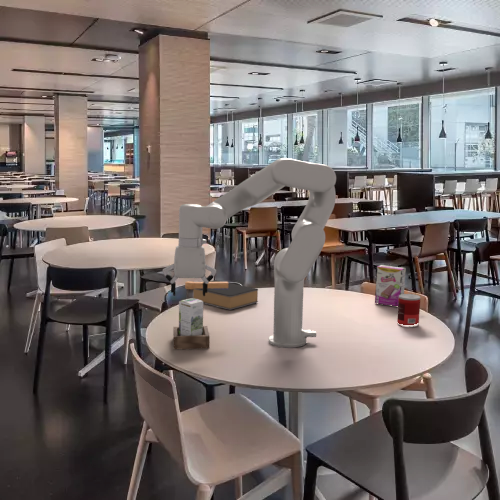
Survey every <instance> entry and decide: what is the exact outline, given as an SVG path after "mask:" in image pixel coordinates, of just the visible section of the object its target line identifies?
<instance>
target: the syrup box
mask: <svg viewBox="0 0 500 500" xmlns="http://www.w3.org/2000/svg"><path fill="white" fill-rule="evenodd" d="M203 326H204V303H203V301H201V300H198V299H194V298H190V299H182V300H179V301H178V327H179V336H196V335H203Z"/></svg>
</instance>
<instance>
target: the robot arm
mask: <svg viewBox="0 0 500 500" xmlns="http://www.w3.org/2000/svg"><path fill="white" fill-rule="evenodd" d="M336 182H337V175H336V172H335V170H334V169H333V168H332V167H331V166H329V165H327V164H321V163H315V162H310V161H302V160H298V159H293V158H289V157H288V158H287V157H280V158H278V159H276V160H274V161H272V162H270V163H269V164H268V165H267V166H265V167H263V168H262V169H260V170H259V171H257V172H256V173H254V174H252V175H251V176H250V177H248V178H245V180H243V181H242V182H240V183H239V184H238V185H237V186H235V187H234V188H232V189H231V190H229V191H228V192H226V193H224V194H222V195H221V196H219V197H218V198H216V199H214V201H212V202H210V203H209V204H208V205H205V206H204V205H203V206H202V205H201V204H196V203H185V204H181V205H180V206H179V210H178V211H179V212H178V245H176V246H175V250H174V260H173V263H172V264H171V265H168V266H166V267H165V268H163V269H162V273H163V275H164V277H165V279H166V280H167V281H168V282H169V283H170V293H172V296H174V297H175V296H176V281H177V280H178V279H201V280H202V282H203V296H205V293H207V287H208V283H209V282H210V281H213V279H214V277H215V275H216V274H217V269H215V268H213V267H212V266H210V265H208V264H206V250H205V246H203V245H204V244H205V245H206V244H207V243H208V242H207V239H204V238H203V228H206V229H213V230H214V229H215V230H218V229H220V228H223V227H224V226H225V225H226V222H227V220H228V219H230V218H231V217H233V216H234V215H236V214H238V213H239V212H240V211H243V210H244V209H246V208H250V207H253V206H256V205H258V204H260V203H261V202H263V201H265V200H266V199H267V198H269V197H271V196H272V195H273V194H276V193H277V192H278V191H280V190H282V189H283V188H284V187H289V188H293V189H298V190H304V191H309V197H308V200H307V203H306V205H305V207H304V209H303V210H302V213H301V214H300V216H299V218H298V220H297V221H296V223H295V224H294V226H293V228H292V231H291V239H292V241H291V242H290V245H289V246H288V247H285V248H283V249H281V250H279V252H277V254H276V255H275V258H274V261H273V274H274V275H273V276H274V292H273V293H274V295H273V334H272V335H270V336H269V337H268V342H269V344H270V345H272V346H274V347H279V348H288V349H289V348H290V349H291V348H292V349H293V348H301V347H303V346H304V345H306V344H307V338H317V332H316V330H315V331H314V330H312V331H311V329H304V327H303V315H304V314H303V312H304V311H303V310H304V308H303V307H304V280H305V278H306V277H307V276H308V275H309V273H310V272H311V270H312V268H313V266H314V265H315V263H316V261H317V259H318V258H319V256H320V254H321V251H322V250H323V248H324V246H325V242H326V232H325V230H324V229H325V227H326V225H327V223H328V221H329V219H330V217H331V215H332V213H333V211H334V208H335V204H336V200H337V199H336V196H337V195H336V188H335V185H336ZM171 270H173V275H172V276H171V275H170V274H169V272H170V271H171ZM207 270H208V271H209V272H210V274H209V275H208V276H207V277H206V271H207Z"/></svg>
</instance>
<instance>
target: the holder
mask: <svg viewBox="0 0 500 500" xmlns="http://www.w3.org/2000/svg"><path fill="white" fill-rule="evenodd" d="M185 293H186V299H190V298H194V289H186V291H185ZM186 299H185V300H186ZM172 329H173V330H172V332H173V335H172V336H173V350H195V349H198V350H199V349H210V344H211V343H210V337H211V336H210V332H209V328H208V325H203V335H196V336H179V326H173V328H172Z"/></svg>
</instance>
